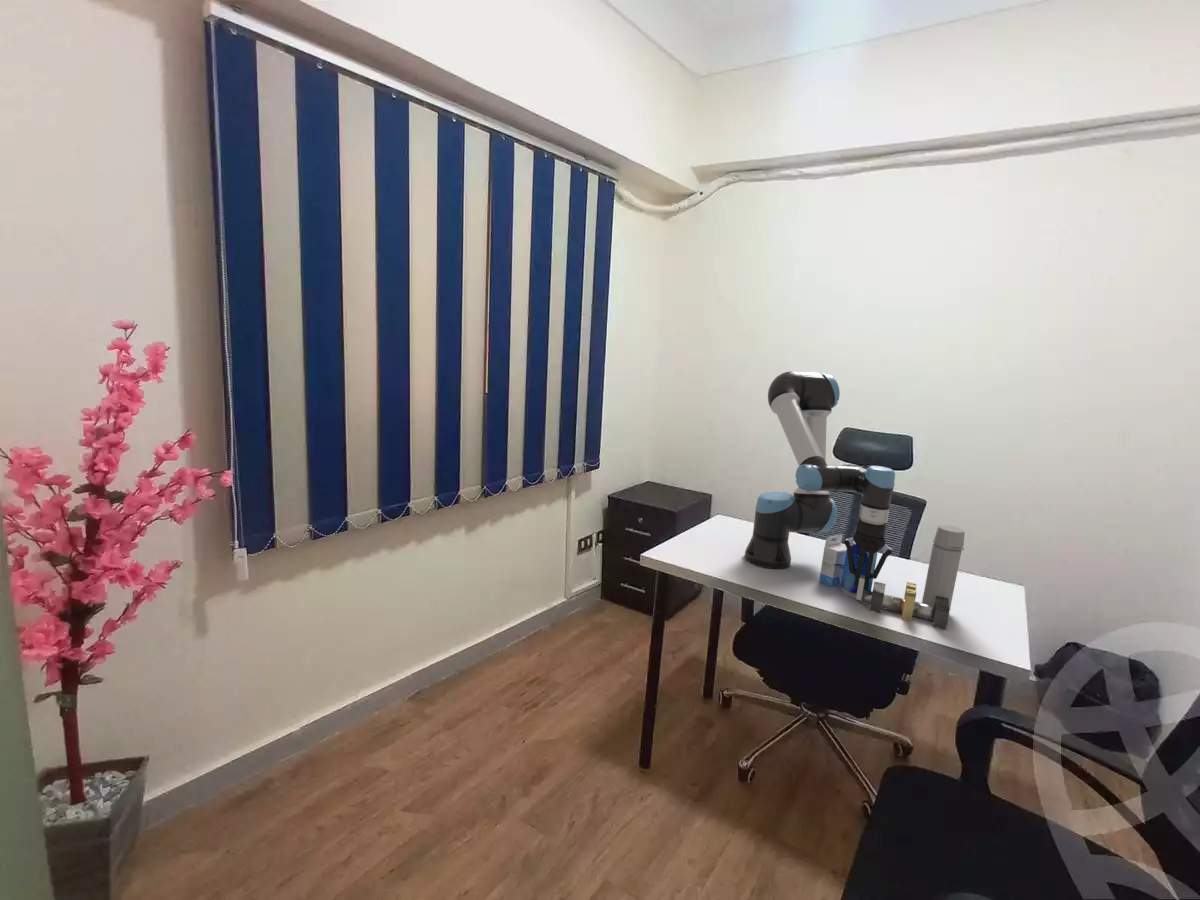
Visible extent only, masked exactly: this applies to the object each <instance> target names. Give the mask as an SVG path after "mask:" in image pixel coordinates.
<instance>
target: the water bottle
mask: <svg viewBox="0 0 1200 900" xmlns="http://www.w3.org/2000/svg"><path fill="white" fill-rule="evenodd" d="M934 535H935V536H934V537H933V540H932V542H933V544H932V548H931V552H930V558H929V564H928V569H927V575H926V580H925V585H924V590H923V594H922V601H921V603H923V604H927V605H932V606H934V604H935V599H936V596H940V597H944V598H948V600H949V608H950V610H949V613H950V611H951V607H952V602H953V596H954V591H955V587H956V582H957V581H956V579H957V575H958V570H959V567H960V561H961V555H962V551H964V550H965V548H964V543H965V530H964V529H962V528H960V527H957V526H955V525H954V526H953V525H946V524H940V525H938V526H937V529H936V532H935V534H934Z"/></svg>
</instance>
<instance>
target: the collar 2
mask: <svg viewBox="0 0 1200 900" xmlns="http://www.w3.org/2000/svg"><path fill="white" fill-rule="evenodd" d="M934 606H936V611H935V616H934V621H932V627H933V628H936V629H941V630H945V631H946V628H947V626H948V623H947V620H948V621H949V618H948V615H949V616H950V612H949V610H950V611H951V607H950V608H949V600H948V598H944V597H940V596H936V599H935V604H934Z"/></svg>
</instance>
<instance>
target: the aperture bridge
mask: <svg viewBox="0 0 1200 900" xmlns="http://www.w3.org/2000/svg"><path fill="white" fill-rule="evenodd" d="M905 586H906V587H905V591H904V597H903V599H905V602H904V607H903V613H901V619H902V620H904V621H905V620H906V621H908V622H912V618H913V616H912V614H913V609H914V604H915V602H916V596H917V584H916V583H913V582H908V581H907V582H906V585H905Z"/></svg>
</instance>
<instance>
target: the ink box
mask: <svg viewBox="0 0 1200 900" xmlns="http://www.w3.org/2000/svg"><path fill="white" fill-rule="evenodd" d="M842 539H843V534H842V533H840V534H836V535H831V536H830V535H829V536H827V537H826V538H825V543H824V548H823V555H822V559H821V566H820V567H821V568H820V573H819V580H818V581H819V582H821V583H822V584H826V585H827V586H830V587H835V586H839V585H840V586H841V582H842V576H843V570H844V563H845V557H846V551H847V547H846V545H845V543H842Z"/></svg>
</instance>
